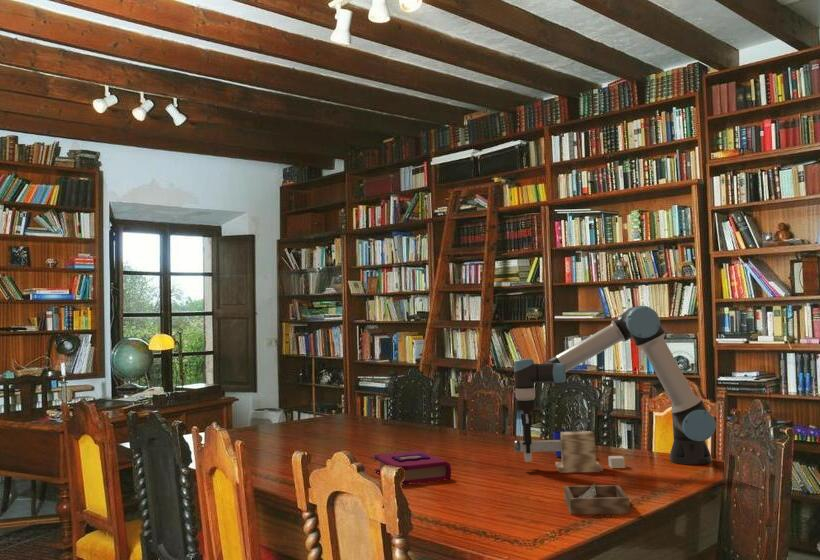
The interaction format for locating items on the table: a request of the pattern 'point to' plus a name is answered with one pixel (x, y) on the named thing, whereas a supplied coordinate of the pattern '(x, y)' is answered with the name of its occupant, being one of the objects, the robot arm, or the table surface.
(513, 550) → the table surface
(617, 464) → the spacer
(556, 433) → the mug
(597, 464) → the block
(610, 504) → the wooden tray
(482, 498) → the table surface
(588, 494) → the rock sample
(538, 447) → the shaft
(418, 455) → the book
